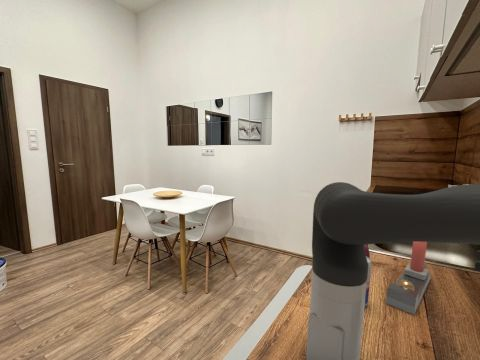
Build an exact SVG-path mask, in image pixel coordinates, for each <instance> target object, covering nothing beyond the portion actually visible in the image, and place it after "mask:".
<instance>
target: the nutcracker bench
mask: <svg viewBox="0 0 480 360" xmlns="http://www.w3.org/2000/svg"><path fill="white" fill-rule="evenodd" d="M430 280H431V272H428V275H427V277H426V279H425V281H424V280H421V279H418V278H415V277H412V276H409V275H406V274H404V271H403V272H402V273H401V275H400V276H399V278H398V279H397V280H396V282H395V283H393V282H390V283H389V285H388V286H387V291H386V300H385V304H386V305H389V306H391V307H393V308H395V309H398V310H400V311H403V312H404V313H405V312H406V313H407V314H410V315H413V316H415V314H416V311H417V309H418V307H419V306H420V304H421V303H420V302H421V300H422V298H423V297H424V294H425V292H426V289H427V287H428V285H429V283H430Z"/></svg>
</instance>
